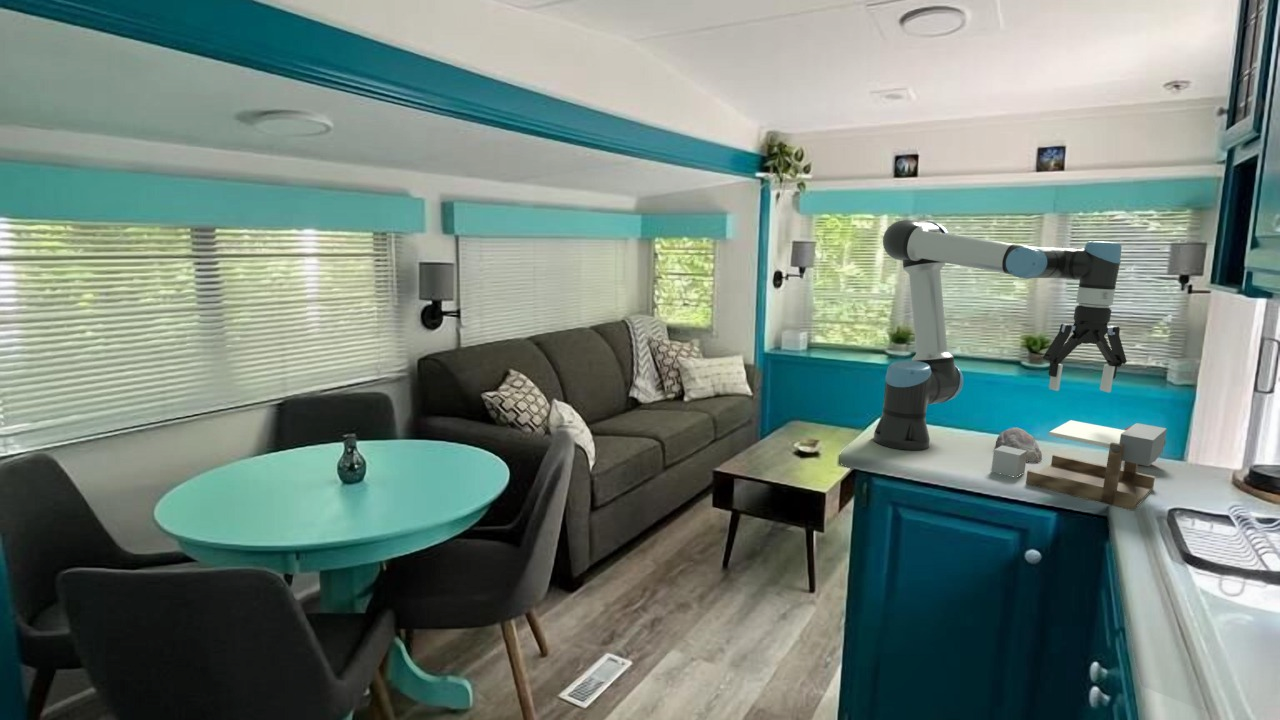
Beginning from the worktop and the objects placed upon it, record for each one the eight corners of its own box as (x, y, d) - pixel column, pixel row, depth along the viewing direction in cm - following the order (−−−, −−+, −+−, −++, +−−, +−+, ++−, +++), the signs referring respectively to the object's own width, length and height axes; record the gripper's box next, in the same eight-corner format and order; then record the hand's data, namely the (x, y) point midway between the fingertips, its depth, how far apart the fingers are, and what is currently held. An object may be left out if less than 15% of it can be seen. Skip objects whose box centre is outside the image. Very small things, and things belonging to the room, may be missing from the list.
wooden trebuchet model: (1025, 483, 169) (1033, 428, 167) (1052, 465, 184) (1060, 414, 182) (1133, 510, 154) (1143, 450, 151) (1153, 488, 169) (1162, 433, 166)
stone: (1027, 483, 187) (1059, 460, 185) (1002, 455, 187) (1034, 432, 185) (1005, 463, 204) (1034, 442, 202) (983, 438, 204) (1012, 417, 201)
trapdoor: (1047, 445, 167) (1050, 421, 166) (1068, 433, 179) (1072, 410, 178) (1147, 467, 153) (1152, 441, 152) (1163, 452, 165) (1167, 427, 164)
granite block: (991, 472, 178) (994, 449, 177) (999, 467, 182) (1002, 445, 181) (1016, 478, 173) (1019, 455, 172) (1024, 473, 178) (1027, 450, 176)
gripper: (1055, 305, 164) (1041, 392, 168) (1153, 309, 166) (1137, 395, 170) (1035, 302, 172) (1022, 385, 175) (1129, 305, 174) (1115, 388, 178)
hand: (1079, 390), depth 173 cm, fingers open, 13 cm apart
